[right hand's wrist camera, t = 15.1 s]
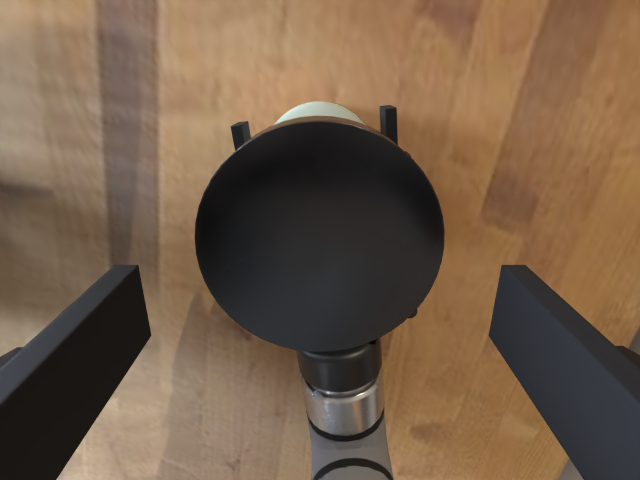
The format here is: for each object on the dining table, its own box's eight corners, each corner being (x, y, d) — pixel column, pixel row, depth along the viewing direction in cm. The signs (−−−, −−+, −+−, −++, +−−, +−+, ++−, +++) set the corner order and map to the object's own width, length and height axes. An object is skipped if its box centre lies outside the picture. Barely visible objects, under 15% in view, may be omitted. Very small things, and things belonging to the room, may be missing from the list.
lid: (267, 67, 16) (259, 66, 14) (475, 186, 18) (496, 201, 16) (176, 270, 20) (158, 294, 18) (358, 352, 22) (363, 383, 20)
